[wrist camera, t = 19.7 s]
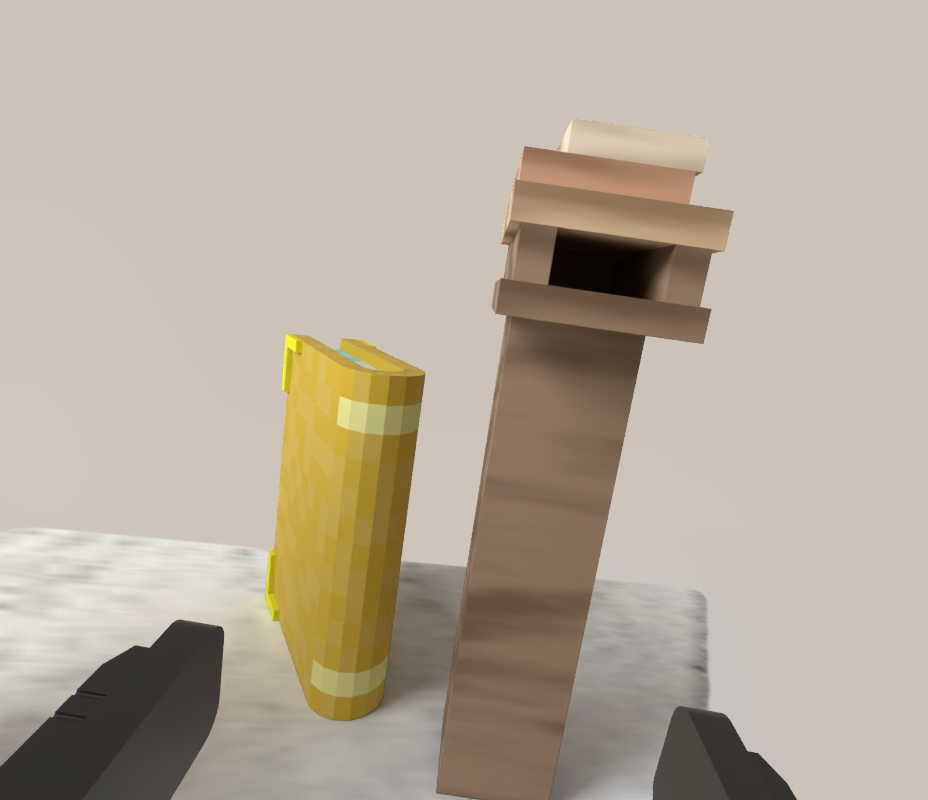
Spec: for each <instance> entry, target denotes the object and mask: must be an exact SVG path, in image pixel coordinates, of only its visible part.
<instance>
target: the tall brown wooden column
mask: <svg viewBox="0 0 928 800" xmlns="http://www.w3.org/2000/svg"><path fill="white" fill-rule="evenodd" d="M709 141H710V138H705V137H698V136H691V135H684V134H677V133H670V132H663V131H657V130H650V129H643V128H636V127H629V126H622V125H614V124H608V123H601V122H594V121H587V120H580V119H573V120H572V122H571V124H570V125H569V127H568V130H567V131H566V133H565V135H564V137H563V139H562V141H561V143H560V145H559V147H558V149H557V150H556V151H553V150H546V149H539V148H532V147H524V151H523V154H522V157H521V161H520V164H519V168H518V171H517V175H516V178H515V181H514V185H513V192H512V196H511V199H510V202H509V206H508V209H507V212H506V216H505V221H504V228H503V234H502V241H501V244H506V245H509V248H508V255H507V261H506V268H505V274H504V279H502V278H501V279H500V280H498V281H497V282H496V283H495V288H494V294H493V300H492V308H493V310H494V312H495V313H496V314H501V315H506V322H505V329H504V334H503V341H502V347H501V354H500V361H499V366H498V374H497V379H496V386H495V392H494V398H493V405H492V411H491V417H490V424H489V430H488V436H487V443H486V449H485V456H484V462H483V468H482V475H481V481H480V487H479V494H478V501H477V507H476V513H475V520H474V526H473V532H472V538H471V545H470V551H469V558H468V564H467V570H466V577H465V583H464V589H463V596H462V602H461V609H460V615H459V621H458V628H457V634H456V640H455V647H454V653H453V660H452V666H451V672H450V679H449V685H448V691H447V698H446V704H445V711H444V717H443V726H442V737H441V748H440V758H439V769H438V780H437V791H436V793H441V794H448V795H454V796H461V797H468V798H474V799H481V800H549V798H550V793H551V788H552V783H553V778H554V774H555V769H556V764H557V759H558V754H559V750H560V745H561V740H562V735H563V730H564V725H565V721H566V716H567V711H568V706H569V701H570V697H571V692H572V687H573V682H574V677H575V673H576V668H577V663H578V658H579V653H580V648H581V644H582V639H583V634H584V629H585V624H586V620H587V615H588V610H589V605H590V600H591V596H592V591H593V586H594V581H595V576H596V571H597V566H598V561H599V557H600V551H601V547H602V543H603V537H604V533H605V528H606V523H607V519H608V513H609V508H610V504H611V499H612V494H613V489H614V485H615V480H616V475H617V470H618V466H619V461H620V456H621V451H622V446H623V441H624V437H625V432H626V426H627V422H628V417H629V413H630V407H631V403H632V398H633V393H634V388H635V384H636V379H637V374H638V369H639V365H640V359H641V355H642V350H643V345H644V340H645V336H652V337H658V338H665V339H672V340H679V341H686V342H693V343H699V344H703V343H704V338H705V335H706V330H707V326H708V321H709V317H710V312H711V309H707V308H701V307H700V303H701V299H702V295H703V290H704V286H705V281H706V277H707V272H708V268H709V264H710V259H711V255H712V253H716V252H722V251H725V247H726V243H727V238H728V234H729V230H730V225H731V221H732V217H733V212H734V211H730V210H723V209H716V208H709V207H702V206H695V205H689V202H690V196H691V192H692V188H693V183H694V178H695V176H696V175H698V174H700V173H702V172H703V169H704V164H705V159H706V155H707V150H708V146H709Z"/></svg>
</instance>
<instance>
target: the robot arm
mask: <svg viewBox="0 0 928 800" xmlns="http://www.w3.org/2000/svg"><path fill="white" fill-rule="evenodd" d="M223 645H224V631H223V628H222V627H221V626H215V625H209V624H203V623H197V622H191V621H185V620H176V621H175V622H173V623H172V624H171V625H170V626H169V627H168V629H167V630H166V631H165V632H164V633H163V634H162V635H161V636H160V637H159V638H158V640H157V641H156V642H155V643H154V644H153V645H152V646H151V647H150V648H147V647H141V646H134V647H132V648H130V649H129V650H127V651H125V652H123V653H122V654H120V655H118V656H116V657H115V658H113V659H111V660H109V661H108V662H106V663H104V664H102V665H101V666H100V667H99V668H98V669H97V670H96V671H95V672H94V673H93V674H92V675H91V676H90V677H89V678H88V679H87V680H86V681H85V682H84V683H83V684H82V685H81V686H80V687H79V688H78V689H77V692H76V694H75V695H72V696H71V697H70V698H69V699H68V700H67V701H66V702H65V703H64V704H63V705H62V706H61V707H60V708H59V709H58V710H57V711H56V712H55V715H54V717H53V718H51V717H50V718H49V719H48V720H47V721H46V722H45V723H44V724H43V725H42V726H41V727H40V728H39V729H38V730H37V731H36V732H35V733H34V734H33V735H32V736H31V737H30V738H29V739H28V740H27V741H26V742H25V743H24V744H23V745H22V746H21V747H20V748H19V749H18V750H17V751H16V752H15V753H14V754H13V755H12V756H11V757H10V758H9V759H8V760H7V761H6V762H5V763H4V764H3V765H2V766H1V767H0V800H170V799H171V797H172V796H173V794H174V792H175V791H176V789H177V787H178V786H179V784H180V783H181V781H182V779H183V778H184V776H185V774H186V773H187V771H188V769H189V768H190V766H191V764H192V763H193V761H194V759H195V758H196V756H197V754H198V753H199V751H200V750H201V748H202V746H203V745H204V743H205V741H206V739H207V737H208V735H209V733H210V731H211V728H212V726H213V723H214V720H215V717H216V713H217V709H218V704H219V696H220V683H221V671H222V658H223ZM653 800H797V799H796V797H795V796H794V794H793V792H792V791H791V789H790V787H789V786H788V784H787V783H786V782H785V781H784V780H783V779H782V777H781V776H779V774H778V773H777V772H776V771H775V770H774V769H773V768H772V767H771V766H770V765H769V764H768V763H767V762H766V761H765V760H764V759H763V758H762V757H761V756H760V755H759V754H758V753H754V752H748V751H747V750H746V748H745V746H744V745H743V743H742V741H741V739H740V737H739V735H738V734H737V732H736V730H735V728H734V726H733V725H732V723H731V721H730V720H729V718H728V717H727V716H726V715H725V714H722V713H717V712H712V711H706V710H700V709H694V708H688V707H682V706H679V707H677V708H676V709H675V711H674V713H673V715H672V718H671V722H670V725H669V728H668V732H667V735H666V739H665V742H664V746H663V749H662V752H661V756H660V759H659V763H658V766H657V770H656V773H655V777H654V783H653Z"/></svg>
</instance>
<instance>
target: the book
mask: <svg viewBox="0 0 928 800" xmlns="http://www.w3.org/2000/svg"><path fill="white" fill-rule="evenodd" d="M424 380H425V372H424V371H423V370H421V369H419V368H417V367H414V366H412V365H410V364H408V363H406V362H404V361H401V360H399V359H397V358H395V357H393V356H390V355H388V354H386V353H384V352H382V351H380V350H378V349H376V347H375V346H373V345H371V344H369V343H366V342H364V341H362V340H353V339H341V344H340V350H333V349H331V348H329V347H327V346H326V345H324V344H322V343H320V342H319V341H317V340H315V339H313V338H312V337H310V336H305V335H293V334H286V341H285V355H284V369H283V381H282V389H283V391H287V401H286V413H285V425H284V437H283V450H282V462H281V476H280V486H279V499H278V513H277V525H276V536H275V548H274V550H272V551H269V557H268V570H267V583H266V594H265V598H266V601H267V604H268V607H269V610H270V613H271V616H272V619H273V621H276V620H279V622H280V625H281V628H282V631H283V634H284V637H285V639H286V642H287V645H288V648H289V651H290V654H291V657H292V659H293V662H294V665H295V668H296V671H297V674H298V677H299V680H300V682H301V685H302V688H303V691H304V694H305V697H306V700H307V702H308V705H309V707H311V708H312V709H313V710H314V711H315V712H316V713H317V714H318V715H321V716H323V717H326V718H329V719H332V720H353V719H357V718H360V717H364V716H366V715H367V714H369V713H370V712H372V711H373V710H375V709H376V708H377V707H378V705H379V703H380V702H381V700H382V698H383V694H384V686H385V678H386V671H387V663H388V655H389V648H390V640H391V632H392V625H393V617H394V609H395V602H396V594H397V587H398V579H399V571H400V564H401V556H402V547H403V541H404V533H405V525H406V518H407V510H408V502H409V494H410V487H411V480H412V471H413V464H414V456H415V449H416V441H417V432H418V426H419V418H420V411H421V403H422V395H423V387H424Z"/></svg>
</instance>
